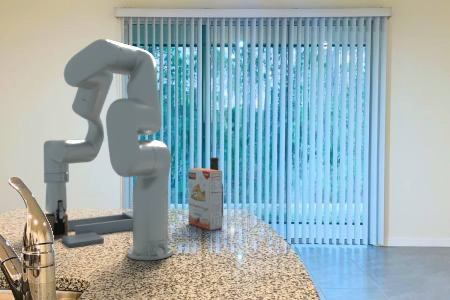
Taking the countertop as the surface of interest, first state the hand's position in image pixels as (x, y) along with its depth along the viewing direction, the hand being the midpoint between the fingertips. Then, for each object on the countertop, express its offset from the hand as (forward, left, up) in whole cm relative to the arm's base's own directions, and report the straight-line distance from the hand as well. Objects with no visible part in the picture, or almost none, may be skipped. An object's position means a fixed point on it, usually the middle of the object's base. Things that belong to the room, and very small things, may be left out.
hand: (57, 231), depth 127 cm
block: (0, 0, -1) cm, 1 cm away
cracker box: (-16, -47, -1) cm, 50 cm away
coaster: (-12, -5, -1) cm, 13 cm away
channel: (0, -17, -1) cm, 17 cm away
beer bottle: (-1, -61, -1) cm, 61 cm away
